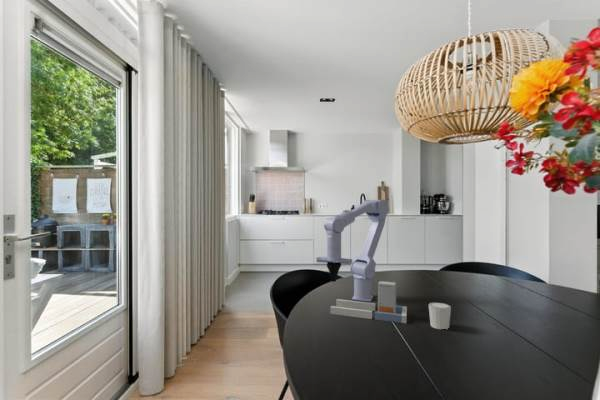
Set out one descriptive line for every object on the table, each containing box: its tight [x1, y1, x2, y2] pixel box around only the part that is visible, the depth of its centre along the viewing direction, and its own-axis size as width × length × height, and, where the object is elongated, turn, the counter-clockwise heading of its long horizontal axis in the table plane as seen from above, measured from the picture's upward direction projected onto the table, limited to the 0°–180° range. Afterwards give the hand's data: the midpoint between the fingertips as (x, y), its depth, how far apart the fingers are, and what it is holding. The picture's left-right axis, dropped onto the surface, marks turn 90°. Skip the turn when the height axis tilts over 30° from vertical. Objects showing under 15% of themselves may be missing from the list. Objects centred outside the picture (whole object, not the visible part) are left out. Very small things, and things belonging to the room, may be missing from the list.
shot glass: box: [428, 301, 452, 330], centre depth 104 cm, size 7×7×7 cm
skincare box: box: [377, 280, 397, 313], centre depth 114 cm, size 6×4×12 cm
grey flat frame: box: [329, 298, 408, 324], centre depth 116 cm, size 11×26×2 cm, turn 70°
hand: (334, 281), depth 127 cm, fingers closed
